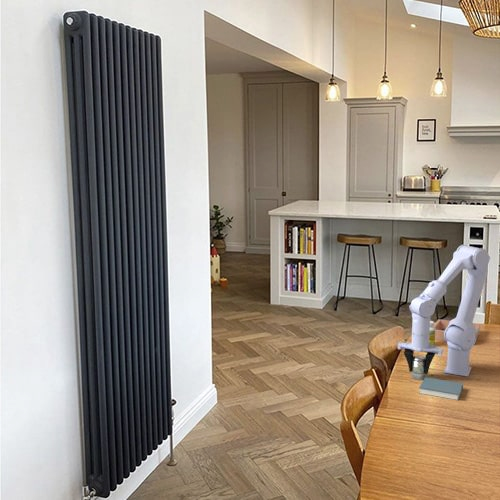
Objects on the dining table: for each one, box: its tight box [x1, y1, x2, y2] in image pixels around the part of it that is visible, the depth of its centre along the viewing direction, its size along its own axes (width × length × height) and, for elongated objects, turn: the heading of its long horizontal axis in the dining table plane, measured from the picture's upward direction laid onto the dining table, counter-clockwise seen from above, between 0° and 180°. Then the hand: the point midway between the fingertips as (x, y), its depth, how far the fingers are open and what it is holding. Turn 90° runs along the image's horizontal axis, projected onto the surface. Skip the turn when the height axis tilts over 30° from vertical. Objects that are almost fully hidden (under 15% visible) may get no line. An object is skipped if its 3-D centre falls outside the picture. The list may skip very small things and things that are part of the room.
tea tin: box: [411, 355, 426, 381], centre depth 211 cm, size 5×5×7 cm
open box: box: [433, 318, 481, 343], centre depth 257 cm, size 17×17×4 cm
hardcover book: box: [418, 376, 464, 401], centre depth 199 cm, size 10×12×2 cm
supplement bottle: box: [429, 320, 436, 347], centre depth 245 cm, size 5×5×10 cm
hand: (418, 372), depth 211 cm, fingers closed on tea tin, 4 cm apart
